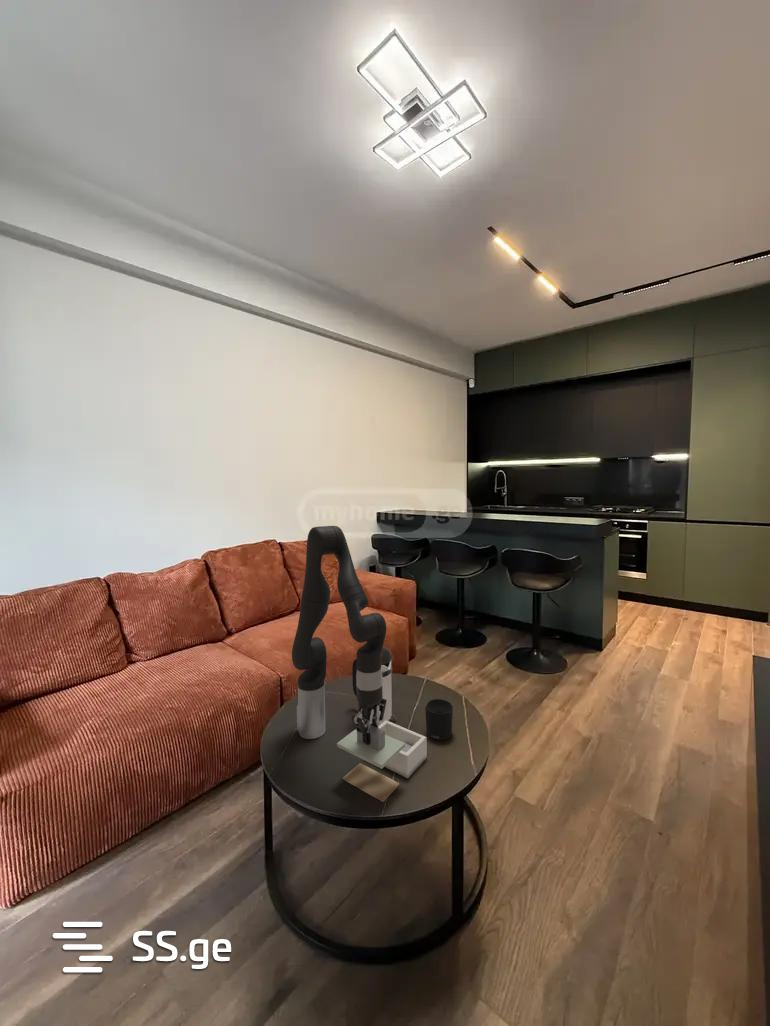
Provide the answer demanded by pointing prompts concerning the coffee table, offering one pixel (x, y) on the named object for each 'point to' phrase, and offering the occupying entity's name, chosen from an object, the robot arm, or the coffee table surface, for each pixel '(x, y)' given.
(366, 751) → the lid
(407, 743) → the storage box
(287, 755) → the coffee table surface
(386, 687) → the coffee press
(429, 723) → the pen holder
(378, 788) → the cork pad
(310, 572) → the robot arm
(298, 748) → the coffee table surface
